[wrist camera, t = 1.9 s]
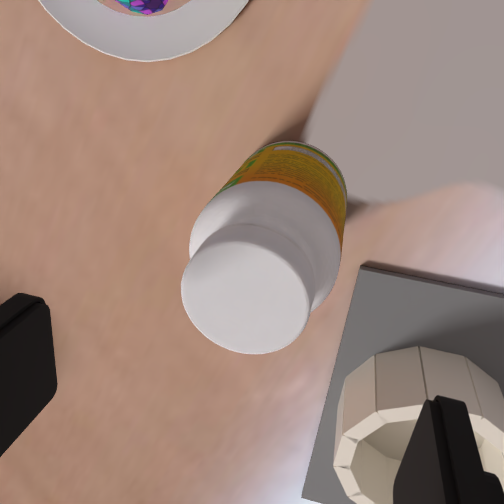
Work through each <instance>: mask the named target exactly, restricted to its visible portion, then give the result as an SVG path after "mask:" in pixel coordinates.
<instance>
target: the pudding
mask: <svg viewBox="0 0 504 504" xmlns="http://www.w3.org/2000/svg"><path fill="white" fill-rule="evenodd" d="M38 1H39V2H40V3H41V5H42V6H43V7H44V8H45V10H46V11H47V12H48V13H49V14H50V15H51V16H52V17H53V18H54V19H55V20H56V21H57V22H58V23H59V24H60V25H61V26H62V27H63V28H64V29H65V30H66V31H68V32H69V33H71V34H72V35H73V36H75V37H76V38H77V39H79V40H80V41H81V42H83V43H84V44H86V45H88V46H90V47H92V48H94V49H96V50H98V51H100V52H102V53H104V54H107V55H110V56H114V57H117V58H121V59H124V60H130V61H141V62H154V61H162V60H170V59H173V58H176V57H179V56H182V55H185V54H188V53H191V52H193V51H195V50H196V49H198V48H200V47H201V46H203V45H205V44H207V43H208V42H210V41H212V40H213V39H214V38H215V37H216V36H217V35H219V34H220V33H221V32H222V31H223V30H224V29H225V28H227V27H228V26H229V25H230V24H231V23H232V22H233V20H234V19H235V18H236V17H237V15H238V14H239V13H240V12H241V10H242V9H243V8H244V6H245V5H246V4H247V3H248V1H249V0H191V1H190V2H188V3H186V4H185V5H183V6H182V7H180V8H179V9H176V10H174V11H171V12H169V13H166V14H163V15H157V16H150V17H142V16H131V15H127V14H123V13H120V12H116V11H114V10H112V9H110V8H108V7H106V6H104V5H102V4H101V3H99V2H98V1H97V0H38ZM115 1H117V2H118V3H120V4H122V5H123V6H125V7H126V8H128V9H129V10H131V11H133V12H137V13H142V14H147V15H148V14H151V13H154V12H158V11H161V10H162V9H163V8H164V6H165V5H166V3H167V1H168V0H115Z"/></svg>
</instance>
